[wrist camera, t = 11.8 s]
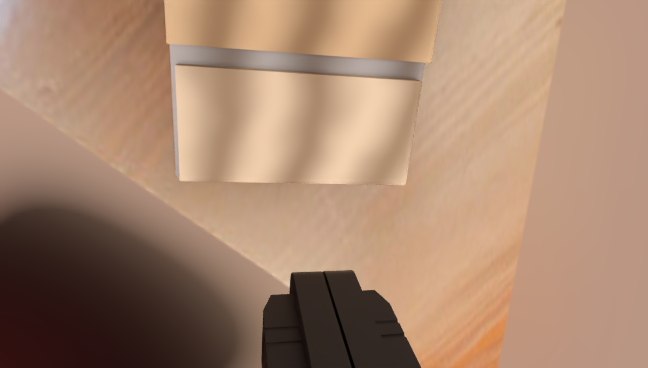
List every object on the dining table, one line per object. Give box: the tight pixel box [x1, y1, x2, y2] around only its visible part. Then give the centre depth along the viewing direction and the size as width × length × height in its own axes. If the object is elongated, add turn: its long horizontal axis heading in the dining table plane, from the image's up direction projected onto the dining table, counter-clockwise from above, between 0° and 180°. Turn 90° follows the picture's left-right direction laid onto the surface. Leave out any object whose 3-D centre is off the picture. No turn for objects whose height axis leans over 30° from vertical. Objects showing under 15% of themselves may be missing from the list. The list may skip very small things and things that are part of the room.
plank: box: [175, 64, 422, 185], centre depth 33 cm, size 18×8×1 cm, turn 85°
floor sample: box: [164, 0, 442, 177], centre depth 32 cm, size 19×18×2 cm
